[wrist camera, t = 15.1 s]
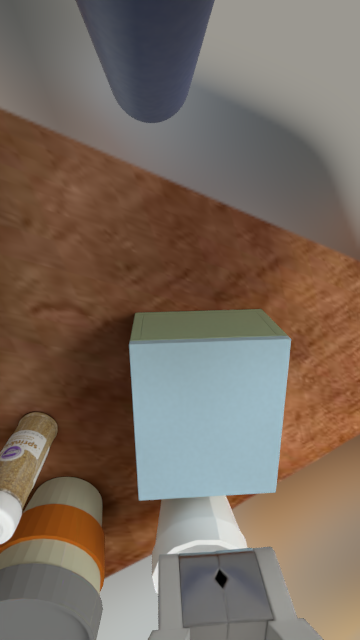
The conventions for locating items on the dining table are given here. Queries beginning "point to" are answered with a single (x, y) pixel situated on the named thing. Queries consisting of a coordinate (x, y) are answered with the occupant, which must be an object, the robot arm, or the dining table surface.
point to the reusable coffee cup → (54, 565)
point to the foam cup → (195, 528)
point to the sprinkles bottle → (22, 467)
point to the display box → (203, 325)
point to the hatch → (208, 415)
